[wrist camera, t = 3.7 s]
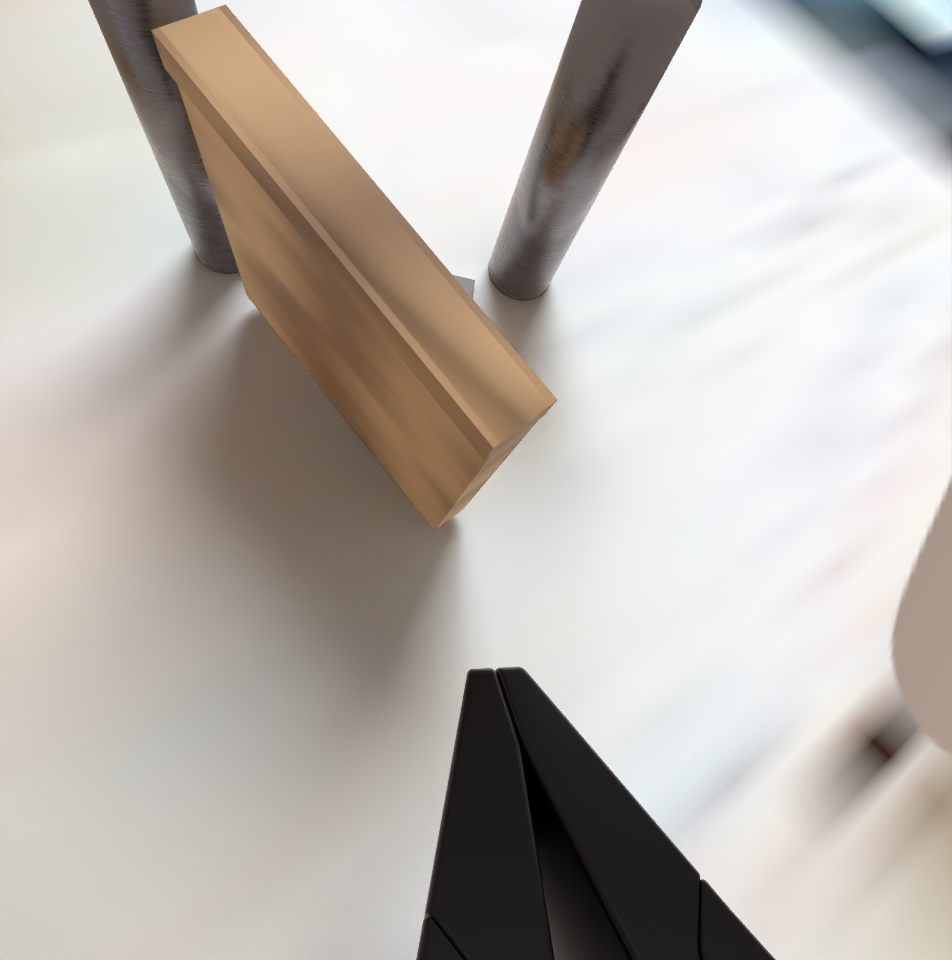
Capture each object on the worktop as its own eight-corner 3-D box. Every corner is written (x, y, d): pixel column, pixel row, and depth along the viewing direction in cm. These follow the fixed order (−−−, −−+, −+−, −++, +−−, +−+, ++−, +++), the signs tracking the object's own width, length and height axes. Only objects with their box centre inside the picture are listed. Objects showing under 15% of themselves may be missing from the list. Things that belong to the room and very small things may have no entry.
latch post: (561, 272, 22) (721, -10, 12) (525, 311, 21) (666, 42, 11) (513, 233, 22) (634, -80, 12) (476, 270, 21) (574, -33, 11)
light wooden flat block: (243, 297, 18) (150, 30, 10) (282, 276, 19) (225, 4, 11) (430, 534, 17) (493, 448, 9) (467, 505, 18) (557, 399, 10)
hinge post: (270, 248, 19) (187, -121, 10) (227, 284, 19) (92, -75, 9) (226, 212, 19) (100, -191, 10) (181, 246, 19) (1, -150, 9)
